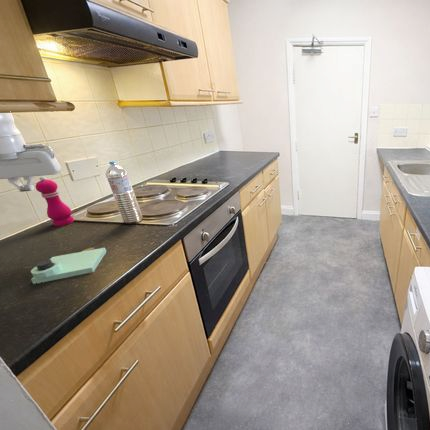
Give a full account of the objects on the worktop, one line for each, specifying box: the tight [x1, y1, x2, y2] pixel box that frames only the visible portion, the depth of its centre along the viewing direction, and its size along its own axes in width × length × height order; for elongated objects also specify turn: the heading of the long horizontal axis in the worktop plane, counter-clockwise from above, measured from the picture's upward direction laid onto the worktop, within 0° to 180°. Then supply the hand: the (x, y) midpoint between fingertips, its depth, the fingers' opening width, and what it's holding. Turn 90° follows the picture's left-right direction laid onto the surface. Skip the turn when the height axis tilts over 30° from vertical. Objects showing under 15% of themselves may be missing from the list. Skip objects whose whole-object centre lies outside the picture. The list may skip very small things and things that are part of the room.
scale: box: [30, 247, 108, 285], centre depth 81 cm, size 14×13×4 cm
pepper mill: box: [35, 175, 75, 227], centre depth 106 cm, size 7×7×20 cm
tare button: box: [35, 259, 54, 271], centre depth 76 cm, size 3×3×2 cm
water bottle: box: [104, 160, 144, 225], centre depth 105 cm, size 7×7×25 cm
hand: (27, 190), depth 83 cm, fingers closed
